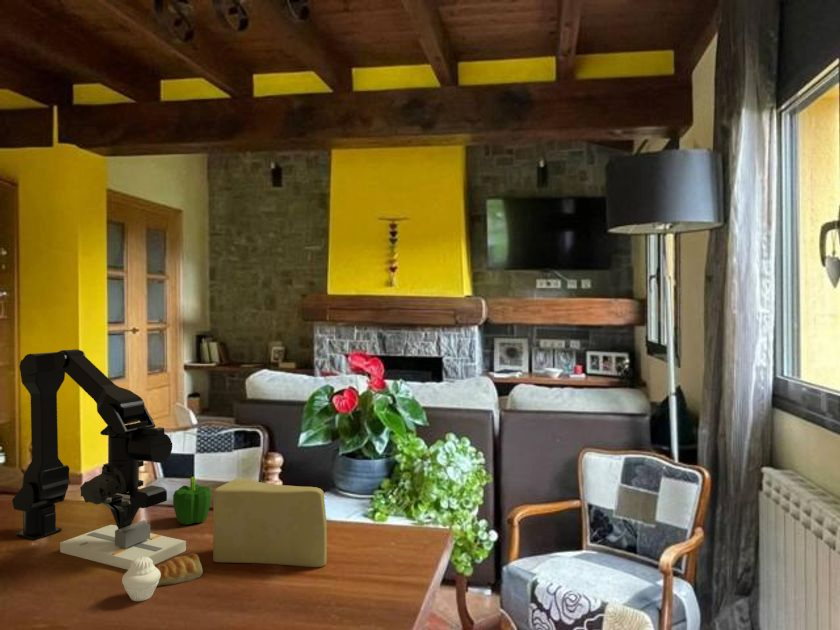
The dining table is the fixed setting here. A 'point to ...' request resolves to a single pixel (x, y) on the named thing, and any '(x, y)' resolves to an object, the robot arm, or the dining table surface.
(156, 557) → the dimmer console
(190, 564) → the pastry
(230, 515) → the cheese
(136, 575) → the muffin
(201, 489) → the bell pepper
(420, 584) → the dining table surface
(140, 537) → the fader cap
